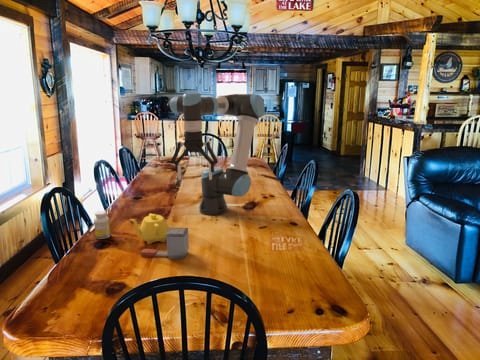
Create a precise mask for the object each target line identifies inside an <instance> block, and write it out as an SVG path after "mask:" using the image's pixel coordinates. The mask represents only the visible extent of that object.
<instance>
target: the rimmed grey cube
mask: <svg viewBox="0 0 480 360" xmlns="http://www.w3.org/2000/svg"><path fill="white" fill-rule="evenodd" d="M189 239H190V238H189V228H188V227H170V228H169V231H168V232H167V234H166V239H165V240H166V251H167V256H185V255H186V256H187V254H188V252H187V251H189V249H190V243H189V242H190V241H189ZM186 253H187V254H186ZM167 256H166V257H167ZM186 256H185V257H186Z"/></svg>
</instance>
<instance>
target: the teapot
mask: <svg viewBox="0 0 480 360" xmlns="http://www.w3.org/2000/svg"><path fill="white" fill-rule="evenodd" d="M129 220H130V221H131V222H132V223H133V225H134V226H133V227H134V230H135V232H136V233H137V234H138V235H139V236H140V238H141V239H142V240H143V241H145V242H147V243H146V244H147V245H152V244H153V243H155V242H160V243H165V242H167V240H166V234H167V232H168V231H169V229H170V228H169V225H168V223H167V222H166V219H165V217H163V216H162V215H160V214H156V213H148V215H147V216H146V215H145V217H143V219H142V222H141V224H140V226H139V224H138V221H137V220H136V219H134V218H129Z"/></svg>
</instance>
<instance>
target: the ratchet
mask: <svg viewBox="0 0 480 360" xmlns="http://www.w3.org/2000/svg"><path fill="white" fill-rule="evenodd" d="M188 251H189V250H188ZM188 251H187V253H186V255H185V256H167V250H158V248H142V250H141V251H140V257H150V258H151V257H168V260H182V261H183V260H185V258H186V257H187V254H188Z"/></svg>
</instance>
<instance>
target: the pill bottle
mask: <svg viewBox="0 0 480 360" xmlns="http://www.w3.org/2000/svg"><path fill="white" fill-rule="evenodd" d="M94 215H95V218H94V219H93V224H94V231H95V237H96V238H97V239H98V240H103V239H107V238H110V237H111V235H112V232H111V224H110V223H111V222H110V218H109V217H108V216H107V211H105V210H100V211H96V212H95V213H94Z"/></svg>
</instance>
